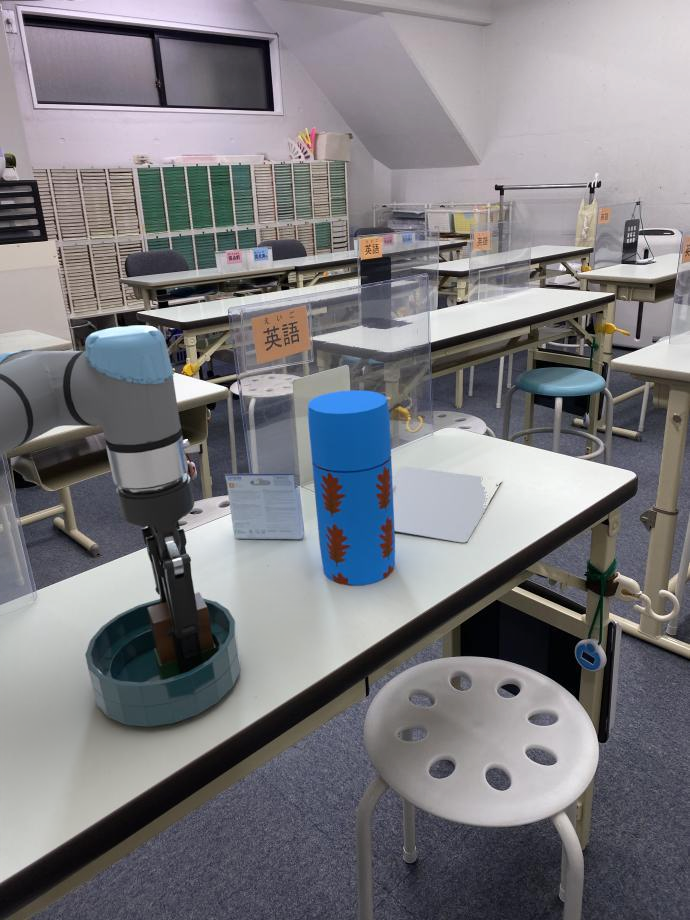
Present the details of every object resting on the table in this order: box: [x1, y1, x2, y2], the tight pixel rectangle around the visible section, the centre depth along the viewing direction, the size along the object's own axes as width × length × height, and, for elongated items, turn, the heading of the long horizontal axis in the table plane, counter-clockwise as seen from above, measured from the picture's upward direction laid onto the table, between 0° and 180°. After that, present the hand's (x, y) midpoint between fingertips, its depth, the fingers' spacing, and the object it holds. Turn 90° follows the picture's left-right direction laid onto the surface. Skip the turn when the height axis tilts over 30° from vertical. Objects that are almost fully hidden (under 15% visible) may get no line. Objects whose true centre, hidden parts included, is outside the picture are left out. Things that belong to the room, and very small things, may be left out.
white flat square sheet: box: [392, 466, 490, 544], centre depth 119 cm, size 25×24×1 cm
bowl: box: [85, 597, 241, 728], centre depth 78 cm, size 16×16×6 cm
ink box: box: [224, 472, 306, 540], centre depth 108 cm, size 12×2×12 cm, turn 80°
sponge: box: [147, 591, 217, 680], centre depth 78 cm, size 4×6×8 cm, turn 116°
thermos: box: [307, 389, 396, 586], centre depth 95 cm, size 11×11×25 cm
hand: (187, 663), depth 79 cm, fingers closed on sponge, 4 cm apart
